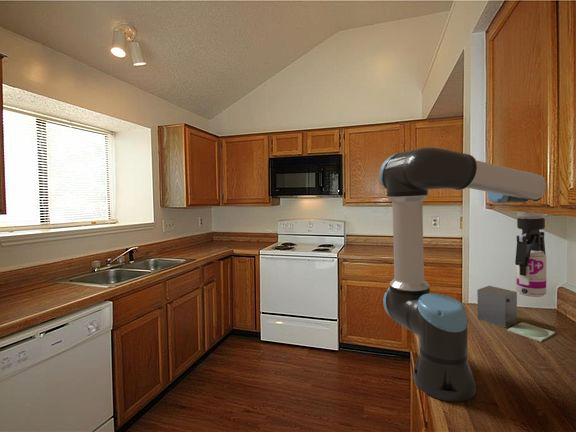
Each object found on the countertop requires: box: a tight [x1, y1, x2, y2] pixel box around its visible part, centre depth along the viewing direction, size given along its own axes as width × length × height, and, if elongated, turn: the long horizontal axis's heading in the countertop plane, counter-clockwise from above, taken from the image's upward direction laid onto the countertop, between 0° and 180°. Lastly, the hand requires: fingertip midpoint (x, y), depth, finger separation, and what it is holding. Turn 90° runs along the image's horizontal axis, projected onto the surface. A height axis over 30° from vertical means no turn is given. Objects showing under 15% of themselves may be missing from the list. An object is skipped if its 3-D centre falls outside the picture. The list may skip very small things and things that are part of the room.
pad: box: [507, 322, 556, 342], centre depth 109 cm, size 10×10×1 cm
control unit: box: [476, 285, 518, 329], centre depth 119 cm, size 8×10×12 cm
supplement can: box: [515, 250, 547, 298], centre depth 107 cm, size 8×8×15 cm
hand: (530, 281), depth 108 cm, fingers closed on supplement can, 8 cm apart
